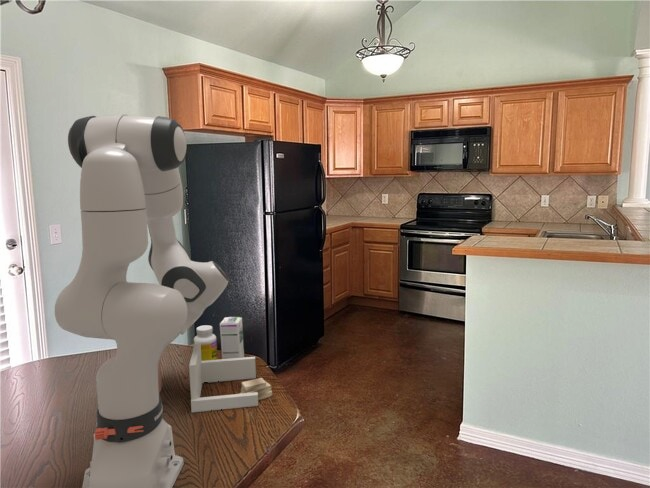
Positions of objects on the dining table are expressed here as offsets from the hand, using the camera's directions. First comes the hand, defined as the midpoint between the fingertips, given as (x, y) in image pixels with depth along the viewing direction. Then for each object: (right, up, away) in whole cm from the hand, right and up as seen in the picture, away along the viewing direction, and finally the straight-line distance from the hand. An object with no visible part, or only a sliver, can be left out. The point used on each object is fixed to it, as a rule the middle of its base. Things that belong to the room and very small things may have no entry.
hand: (145, 350), depth 126 cm
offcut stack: (+30, -12, -2) cm, 32 cm away
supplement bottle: (+12, -9, +16) cm, 22 cm away
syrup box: (+20, -9, +19) cm, 29 cm away
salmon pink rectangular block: (+1, -12, +2) cm, 12 cm away
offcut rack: (+21, -12, +1) cm, 24 cm away
